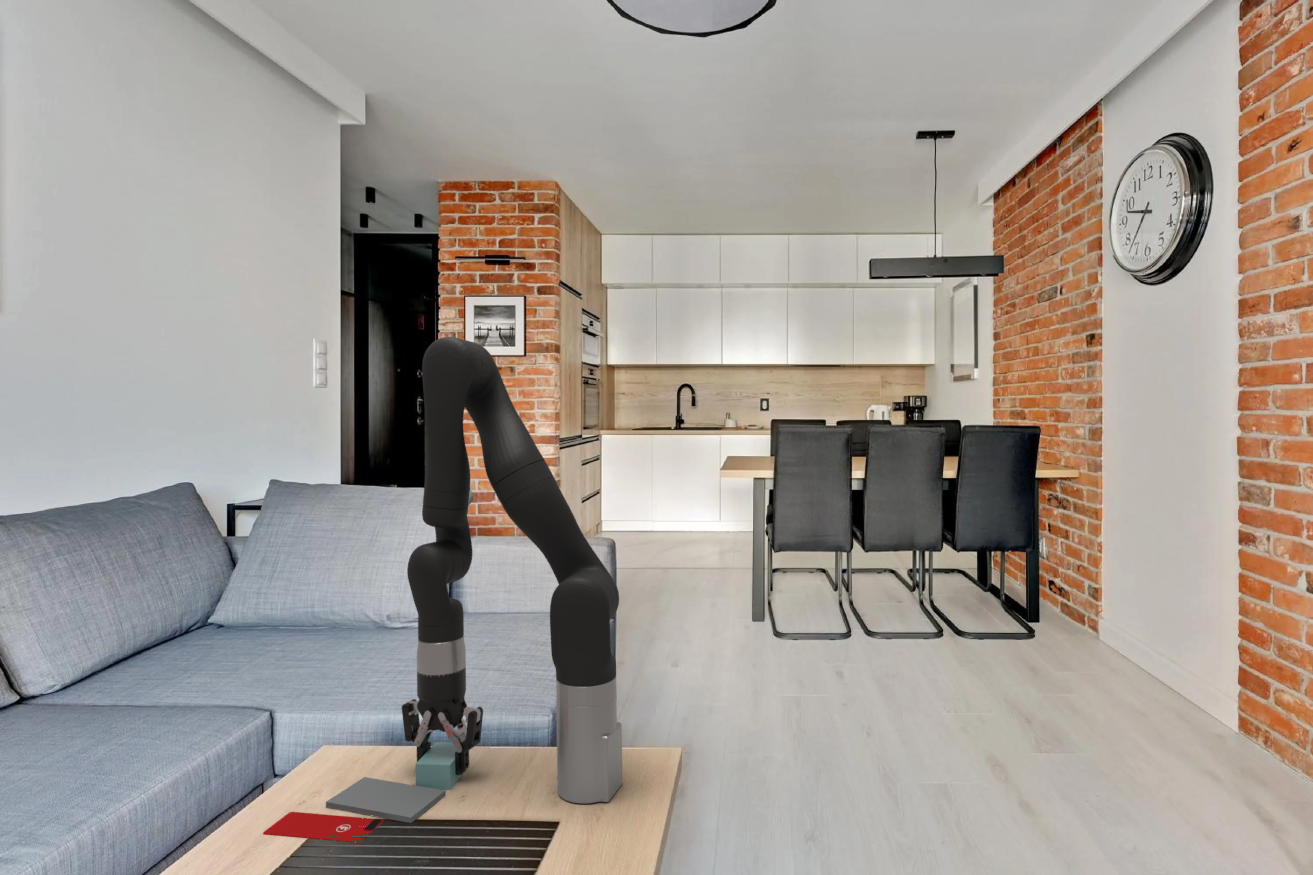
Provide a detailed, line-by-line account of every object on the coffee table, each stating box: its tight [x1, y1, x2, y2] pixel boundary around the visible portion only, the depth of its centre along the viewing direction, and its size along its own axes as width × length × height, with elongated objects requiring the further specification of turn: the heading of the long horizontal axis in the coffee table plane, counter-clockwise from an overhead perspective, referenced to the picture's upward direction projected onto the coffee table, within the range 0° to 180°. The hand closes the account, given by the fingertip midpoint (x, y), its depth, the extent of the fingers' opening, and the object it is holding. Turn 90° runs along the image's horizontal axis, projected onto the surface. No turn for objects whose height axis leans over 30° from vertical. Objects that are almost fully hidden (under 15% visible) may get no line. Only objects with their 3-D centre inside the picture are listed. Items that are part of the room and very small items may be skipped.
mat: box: [325, 776, 446, 824], centre depth 104 cm, size 15×8×1 cm, turn 72°
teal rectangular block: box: [414, 741, 463, 791], centre depth 112 cm, size 6×8×4 cm
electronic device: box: [262, 811, 384, 844], centre depth 98 cm, size 6×1×15 cm
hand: (442, 769), depth 112 cm, fingers closed on teal rectangular block, 6 cm apart
